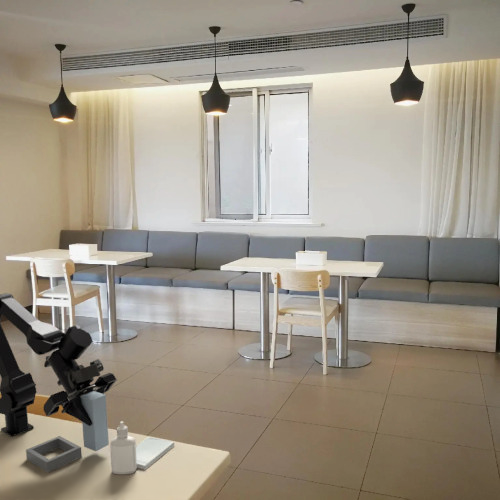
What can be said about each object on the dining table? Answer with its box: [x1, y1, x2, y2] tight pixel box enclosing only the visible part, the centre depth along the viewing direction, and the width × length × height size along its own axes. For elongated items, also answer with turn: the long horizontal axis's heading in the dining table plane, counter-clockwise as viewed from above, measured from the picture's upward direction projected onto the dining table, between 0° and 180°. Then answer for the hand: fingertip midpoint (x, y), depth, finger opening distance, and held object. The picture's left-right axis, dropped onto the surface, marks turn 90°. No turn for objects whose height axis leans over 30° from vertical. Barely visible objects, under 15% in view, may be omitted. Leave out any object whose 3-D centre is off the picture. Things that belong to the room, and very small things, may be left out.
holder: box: [25, 435, 83, 473], centre depth 129 cm, size 10×9×2 cm
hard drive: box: [136, 436, 175, 471], centre depth 129 cm, size 2×8×12 cm
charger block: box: [81, 391, 110, 452], centre depth 129 cm, size 4×4×13 cm
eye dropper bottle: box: [109, 420, 138, 475], centre depth 121 cm, size 4×6×12 cm
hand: (98, 421), depth 128 cm, fingers closed on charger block, 4 cm apart
